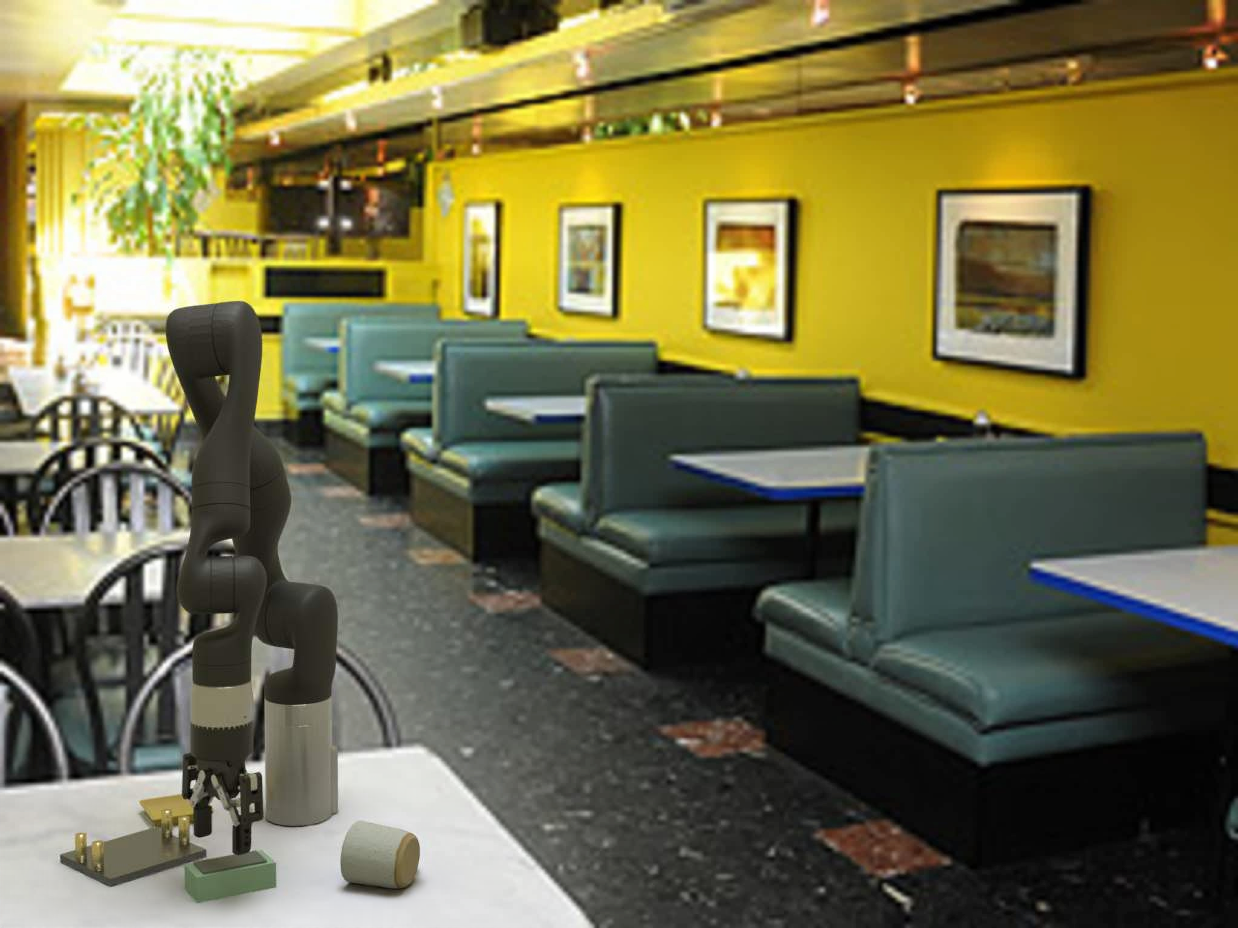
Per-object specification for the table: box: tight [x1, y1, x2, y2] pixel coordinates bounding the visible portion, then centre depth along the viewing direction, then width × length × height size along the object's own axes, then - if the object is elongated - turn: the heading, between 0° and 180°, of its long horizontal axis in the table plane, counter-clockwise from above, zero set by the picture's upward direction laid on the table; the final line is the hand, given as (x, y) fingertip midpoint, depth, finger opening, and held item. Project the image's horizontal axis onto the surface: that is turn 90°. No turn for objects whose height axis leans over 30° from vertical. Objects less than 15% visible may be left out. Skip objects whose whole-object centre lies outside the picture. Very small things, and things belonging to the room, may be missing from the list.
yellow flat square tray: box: [139, 793, 215, 828], centre depth 226 cm, size 9×9×2 cm
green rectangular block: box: [183, 849, 277, 904], centre depth 200 cm, size 10×5×4 cm, turn 122°
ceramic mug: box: [339, 819, 421, 889], centre depth 204 cm, size 11×8×8 cm
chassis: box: [59, 809, 208, 887], centre depth 209 cm, size 14×12×4 cm
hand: (221, 844), depth 200 cm, fingers open, 8 cm apart
